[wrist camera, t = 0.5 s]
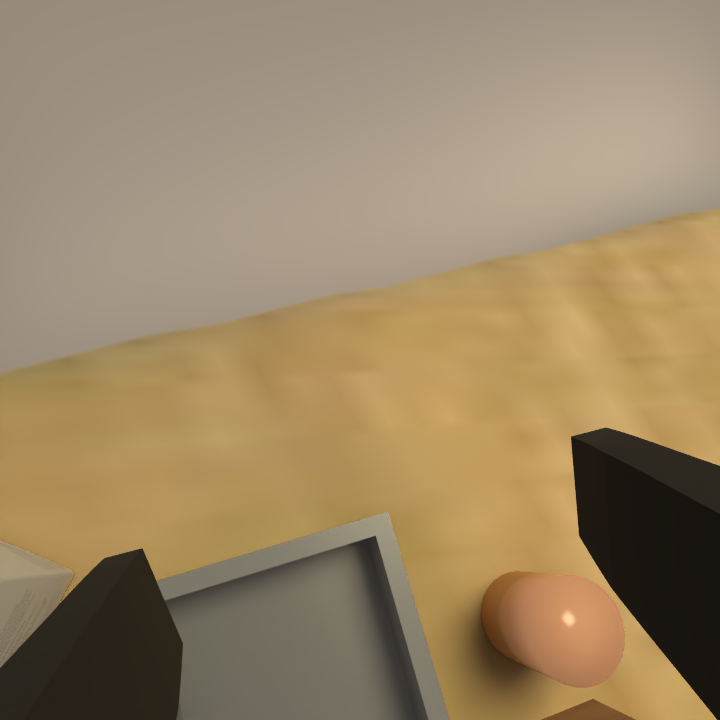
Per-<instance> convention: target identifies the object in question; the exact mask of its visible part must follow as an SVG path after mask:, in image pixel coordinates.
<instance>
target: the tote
mask: <svg viewBox="0 0 720 720" xmlns="http://www.w3.org/2000/svg"><path fill="white" fill-rule="evenodd" d="M157 584H158V586H159V588H160V591H161V593H162V595H163V598H164V600H165V602H166V605H167V607H168V609H169V612H170V614H171V616H172V619H173V621H174V623H175V626H176V628H177V630H178V633H179V635H180V637H181V640H182V642H183V654H182V671H181V685H180V696H179V707H178V714H177V719H176V720H449V716H448V713H447V709H446V706H445V703H444V699H443V696H442V693H441V689H440V686H439V682H438V679H437V676H436V672H435V669H434V665H433V662H432V659H431V655H430V652H429V649H428V645H427V642H426V638H425V635H424V632H423V628H422V625H421V622H420V618H419V615H418V611H417V608H416V605H415V601H414V598H413V595H412V591H411V588H410V584H409V581H408V578H407V574H406V571H405V567H404V564H403V561H402V557H401V554H400V551H399V547H398V544H397V540H396V537H395V534H394V530H393V527H392V524H391V520H390V517H389V513H388V512H385V513H382V514H378V515H375V516H372V517H368V518H365V519H362V520H358V521H355V522H352V523H348V524H345V525H342V526H338V527H335V528H332V529H328V530H325V531H322V532H318V533H315V534H312V535H308V536H305V537H302V538H298V539H295V540H292V541H288V542H285V543H282V544H278V545H275V546H272V547H268V548H265V549H262V550H259V551H255V552H252V553H249V554H245V555H242V556H239V557H235V558H232V559H229V560H225V561H222V562H219V563H215V564H212V565H209V566H205V567H202V568H199V569H195V570H192V571H189V572H185V573H182V574H179V575H175V576H172V577H169V578H165V579H162V580H159V581H157Z"/></svg>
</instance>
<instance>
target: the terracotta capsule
mask: <svg viewBox="0 0 720 720" xmlns="http://www.w3.org/2000/svg"><path fill="white" fill-rule="evenodd" d="M482 622H483V626H484V629H485V632H486V634H487V636H488V638H489V640H490V641H491V643H492V644H493V645H494V647H495V648H496V649H497V650H498V651H499V652H501V653H502V654H504V655H505V656H507V657H509V658H511V659H513V660H515V661H517V662H519V663H521V664H523V665H525V666H528V667H530V668H532V669H534V670H536V671H538V672H540V673H542V674H544V675H546V676H548V677H551V678H553V679H555V680H557V681H559V682H561V683H563V684H565V685H568V686H572V687H577V688H586V687H592V686H595V685H598V684H600V683H602V682H603V681H605V680H606V679H608V678H609V677H610V676H611V675H612V674H613V672H614V671H615V670H616V668H617V667H618V665H619V663H620V660H621V658H622V655H623V651H624V644H625V632H624V625H623V621H622V618H621V615H620V612H619V610H618V608H617V606H616V604H615V603H614V601H613V600H612V598H611V597H610V596H609V594H608V593H607V592H606V591H605V590H604V589H602V588H601V587H600V586H599V585H597V584H596V583H594V582H592V581H590V580H588V579H586V578H583V577H579V576H570V575H558V574H545V573H533V572H519V571H516V572H510V573H506V574H504V575H502V576H500V577H498V578H497V579H496V580H495V581H494V582H493V583H492V584H491V585H490V586H489V588H488V589H487V591H486V593H485V596H484V599H483V603H482Z"/></svg>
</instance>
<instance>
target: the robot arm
mask: <svg viewBox="0 0 720 720" xmlns="http://www.w3.org/2000/svg"><path fill="white" fill-rule="evenodd" d="M571 442H572V454H573V466H574V478H575V490H576V502H577V514H578V527H579V536H580V538H581V540H582V541H583V543H584V545H585V546H586V548H587V550H588V551H589V553H590V555H591V556H592V558H593V560H594V561H595V563H596V565H597V566H598V568H599V569H600V571H601V572H602V574H603V575H604V577H605V579H606V580H607V582H608V583H609V585H610V586H611V588H612V589H613V591H614V592H615V593H616V594H617V596H618V597H619V598H620V600H621V601H622V602H623V603H624V605H625V606H626V607H627V608H628V610H629V611H630V612H631V613H632V615H633V616H634V617H635V618H636V620H637V621H638V622H639V623H640V625H641V626H642V627H643V628H644V630H645V631H646V632H647V633H648V635H649V636H650V637H651V638H652V640H653V641H654V642H655V643H656V645H657V646H658V647H659V648H660V649H661V651H662V652H663V653H664V654H665V656H666V657H667V658H668V659H669V661H670V662H671V663H672V664H673V665H674V667H675V668H676V669H677V670H678V672H679V673H680V674H681V675H682V677H683V678H684V679H685V680H686V682H687V683H688V684H689V685H690V686H691V688H692V689H693V690H694V691H695V693H696V694H697V695H698V696H699V698H700V699H701V700H702V701H703V702H704V704H705V705H706V706H707V707H708V709H709V710H710V711H711V712H712V714H713V715H714V716H715V717H716V719H717V720H720V466H718V465H715V464H712V463H710V462H707V461H704V460H701V459H698V458H695V457H692V456H690V455H687V454H684V453H681V452H678V451H675V450H673V449H670V448H667V447H664V446H661V445H659V444H656V443H653V442H650V441H647V440H644V439H641V438H638V437H635V436H632V435H629V434H626V433H623V432H620V431H616V430H613V429H609V428H603V429H599V430H595V431H591V432H587V433H583V434H580V435H576V436H572V437H571ZM182 654H183V642H182V640H181V637H180V635H179V633H178V630H177V628H176V626H175V623H174V621H173V619H172V616H171V614H170V612H169V609H168V607H167V605H166V602H165V600H164V598H163V595H162V593H161V591H160V588H159V586H158V584H157V581H156V579H155V577H154V574H153V572H152V570H151V567H150V565H149V563H148V560H147V558H146V556H145V553H144V551H143V549H138V550H134V551H130V552H127V553H123V554H119V555H115V556H111V557H107V558H104V559H103V560H102V561H101V562H100V563H99V564H98V565H97V566H96V567H95V568H94V569H93V570H92V571H91V572H90V573H89V574H88V575H87V576H86V577H85V578H84V579H83V580H82V581H81V582H80V583H79V584H78V585H77V586H76V587H75V588H74V589H73V590H72V591H71V592H70V593H69V595H68V596H67V597H66V598H65V599H64V600H63V601H62V602H61V603H60V604H59V605H58V606H57V607H56V609H55V610H54V611H53V612H52V613H51V614H50V615H49V616H48V617H47V618H46V619H45V620H44V622H43V623H42V624H41V625H40V626H39V627H38V628H37V629H36V630H35V631H34V632H33V633H32V634H31V635H30V636H29V638H28V639H27V640H26V641H25V642H24V643H23V644H22V645H21V646H20V647H19V648H18V649H17V650H16V651H15V653H14V654H13V655H12V656H11V657H10V658H9V659H8V660H7V661H6V662H5V663H4V664H3V665H2V666H1V667H0V720H176V719H177V714H178V707H179V696H180V685H181V671H182Z"/></svg>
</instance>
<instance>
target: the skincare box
mask: <svg viewBox="0 0 720 720" xmlns="http://www.w3.org/2000/svg"><path fill="white" fill-rule="evenodd" d="M74 575H75V572H74V571H72V570H70V569H68V568H66V567H64V566H62V565H59V564H57V563H55V562H52V561H50V560H48V559H45V558H43V557H41V556H38V555H36V554H33V553H31V552H29V551H26V550H24V549H21V548H19V547H16V546H14V545H11V544H9V543H6V542H4V541H1V540H0V667H1V666H2V665H3V664H4V663H5V662H6V661H7V660H8V659H9V658H10V657H11V656H12V655H13V654H14V653H15V651H16V650H17V649H18V648H19V647H20V646H21V645H22V644H23V643H24V642H25V641H26V640H27V639H28V638H29V636H30V635H31V634H32V633H33V632H34V631H35V630H36V629H37V628H38V627H39V626H40V625H41V624H42V623H43V622H44V620H45V619H46V618H47V617H48V616H49V615H50V614H51V613H52V612H53V611H54V610H55V609H56V607H57V606H58V605H59V603H60V601H61V599H62V597H63V595H64V594H65V592H66V590H67V588H68V586H69V584H70V583H71V581H72V579H73V577H74Z"/></svg>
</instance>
